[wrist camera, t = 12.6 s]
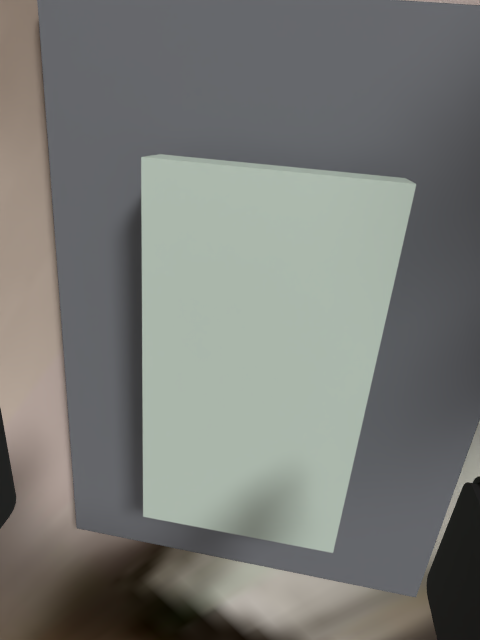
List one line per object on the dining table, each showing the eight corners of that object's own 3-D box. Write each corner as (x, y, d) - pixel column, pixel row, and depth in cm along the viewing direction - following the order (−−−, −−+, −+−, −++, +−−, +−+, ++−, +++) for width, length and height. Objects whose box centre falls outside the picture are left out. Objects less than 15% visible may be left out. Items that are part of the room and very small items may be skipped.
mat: (53, -14, 14) (35, -23, 13) (602, 23, 12) (624, 14, 12) (86, 512, 23) (76, 528, 22) (411, 577, 21) (415, 597, 20)
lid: (169, 152, 15) (141, 157, 12) (399, 174, 14) (416, 184, 11) (164, 470, 20) (143, 516, 17) (331, 500, 19) (333, 553, 17)
